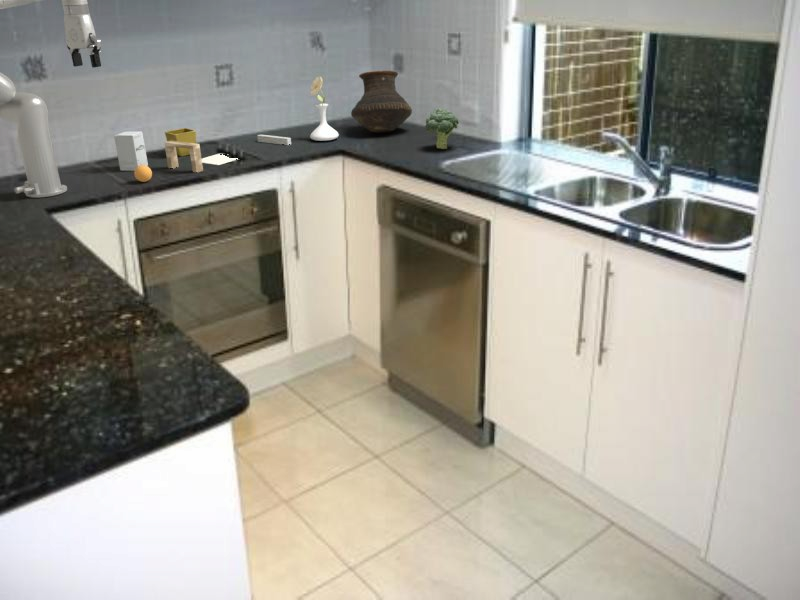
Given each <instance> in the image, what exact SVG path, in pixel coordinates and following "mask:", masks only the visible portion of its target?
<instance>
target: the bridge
mask: <svg viewBox="0 0 800 600" xmlns="http://www.w3.org/2000/svg"><path fill="white" fill-rule="evenodd" d="M163 143H164V148H165V149H164V150H165V154H166V160H167V161H166V162H167V168H168V169H170V168H173V169H177V168H179V167H180V166H179V160H178V155H177V153H176V147H179V148H187V149H189V150H190V155H189V156H190V162H191V169H192V172H193V173H196V172H197V173H201V172H203V171H204V166H203V163H202V153H201V146H200V143H196V144H195V143H187V142H179V141H167V140H166V141H164V142H163ZM176 167H177V168H176Z"/></svg>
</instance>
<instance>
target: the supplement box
mask: <svg viewBox="0 0 800 600" xmlns="http://www.w3.org/2000/svg"><path fill="white" fill-rule="evenodd" d="M113 138H114V142H115V148H116V155H117V158H118V165H119V170H120V171H125V172H130V171H131V172H134V171H135V169H136V168H137V167H138V166H140V165H146V166H148V167H149V163H148V158H147V151H146V146H145V145H146V144H145V139H144V134H143V131H123V132H120V133H118V134H115V135H113Z"/></svg>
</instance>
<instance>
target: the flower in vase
mask: <svg viewBox="0 0 800 600" xmlns="http://www.w3.org/2000/svg"><path fill="white" fill-rule="evenodd" d="M323 82H324V81H323V78H322V76H316V78H315V80H312V85H311V87H310V95H311V96H312V97H315V96H316V95H317V94H318V95H317V99H318V100H319V101H320V102H322V103H318V104H315V107H316V108H317V110H318V113H319V119H320V122H319V125H318V126H317V127H316V128H315V129H314V130H312V132H311V134H310V136H309V137H310V139H311V140H312V141H313V140H314V141H320V142H327V141H328V142H329V141H332V140H335V139H337V138H338V137H339V135H340V134H339V132H338V131H337V130H336V129H334V128H333V127H332V126H330V125H329V124H328V122H327V109H328V106H329V103H326V96H325V95H324V92H323V91H322V89H321V88H322V87H323ZM319 92H321V95H322V96H321V95H320V94H319Z"/></svg>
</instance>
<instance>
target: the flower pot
mask: <svg viewBox="0 0 800 600" xmlns="http://www.w3.org/2000/svg"><path fill="white" fill-rule="evenodd" d="M196 132H197V130H195V129H191V128H188V127H183V128H178V129H171V130H167V131H164V135H165V138H166V142H167V141H179V142H187V143H195V144H197V133H196ZM176 153H177V157H185V156H188V155H189V156H190V150H189V149H187V148H179V147H176Z"/></svg>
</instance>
